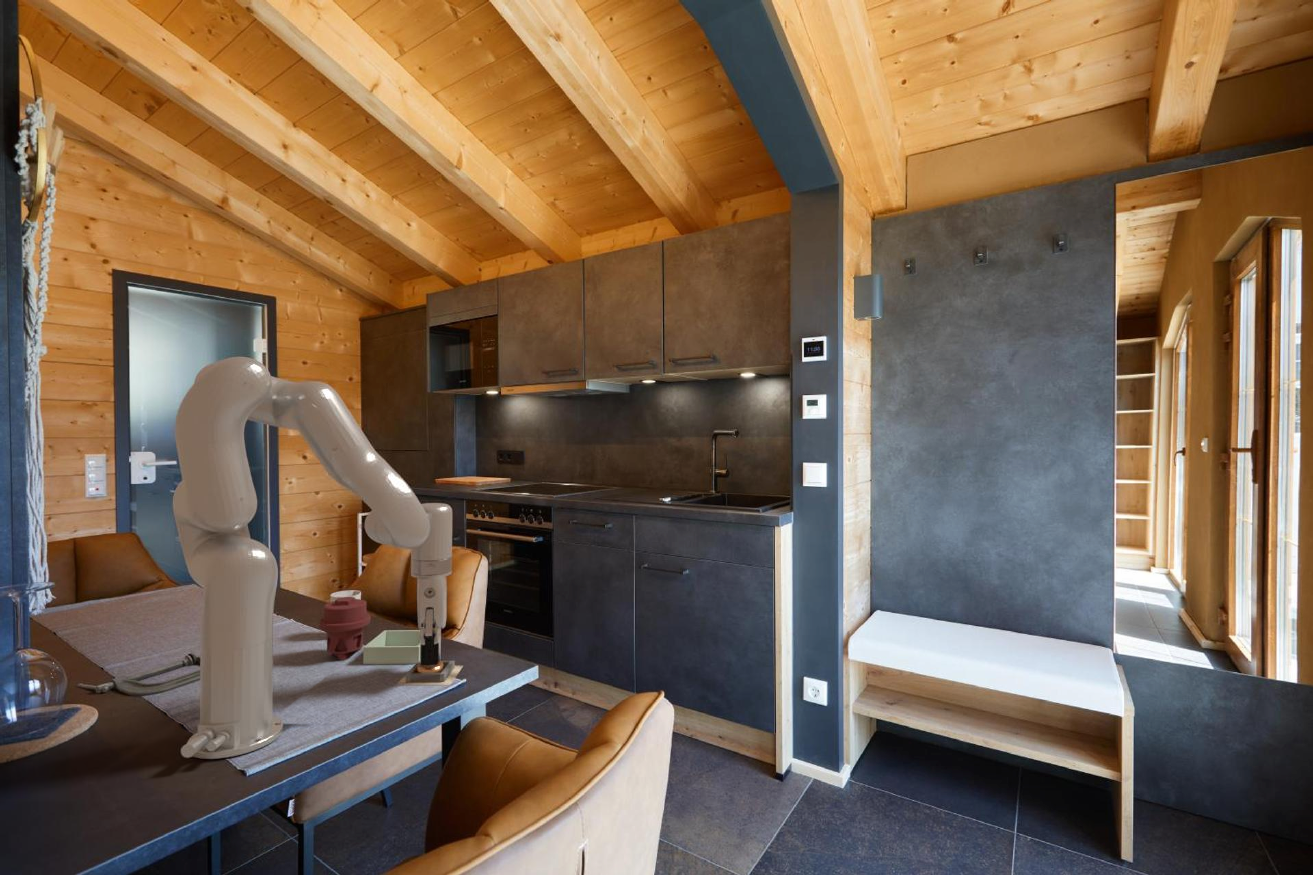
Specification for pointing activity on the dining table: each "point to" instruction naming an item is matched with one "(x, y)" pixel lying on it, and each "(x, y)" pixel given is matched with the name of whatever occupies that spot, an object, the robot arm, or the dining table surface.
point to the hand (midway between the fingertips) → (430, 659)
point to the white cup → (346, 594)
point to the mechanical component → (344, 626)
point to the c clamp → (143, 689)
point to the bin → (393, 648)
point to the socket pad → (431, 676)
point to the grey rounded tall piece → (439, 667)
